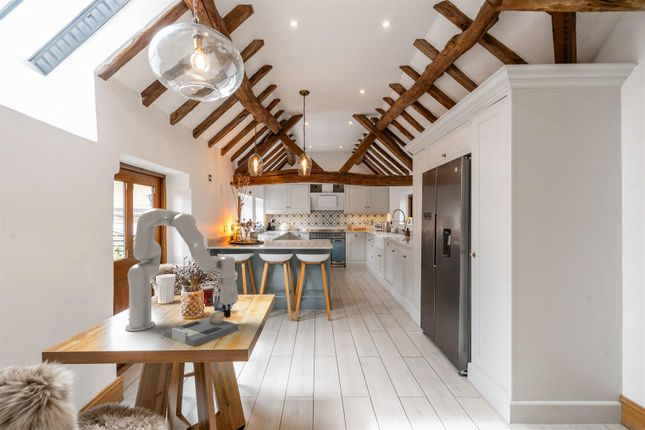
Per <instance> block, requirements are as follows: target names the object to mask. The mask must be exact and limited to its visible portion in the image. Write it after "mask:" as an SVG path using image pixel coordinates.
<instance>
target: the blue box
mask: <svg viewBox="0 0 645 430" xmlns="http://www.w3.org/2000/svg"><path fill="white" fill-rule="evenodd" d="M213 311H223V313H224V309H223V308H219V307H218V303H217V293H216V294H213Z"/></svg>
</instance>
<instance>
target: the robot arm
mask: <svg viewBox="0 0 645 430" xmlns="http://www.w3.org/2000/svg"><path fill="white" fill-rule="evenodd" d="M157 226H167V227H170V228H175V229H176V231H177V233H178V234H179V235H180V237H181V238H182V239H183V241H184V243H186V245H187V247H188V250H189V253H190V254H191V258H192V259H193V260H194V262H195V263H196V265H197V266H198V268H199V269H200V270H201V271H203V273H206V274H211V273H214V272H215V271H217V270H218V271H219V279H218V281H217V282H218V284H217V285H218V287H217V292H216V294H217V303H218V307H219V308H223V309H224V312H223V318H225V319H229V318H231V316H232V315H231V311H232V308H233V306H234V305H235V304H236V303H237V302H238V301H239V300H238V299H239V295H238V294H239V293H238V286H237V282H236V281H235V280H236V276H235V275H236V274H235V273H236V269H235V268H236V266H235V265H236V263H235V261H236V259H235V257H234V256H232V255H231V256H229V255H228V256H218V255H212V256H211V254H210V252H208V251H209V250H207V249H206V246H205V238H204V236H203V234H202V233H201V231H200V230H199V229H198V227H197V226H196V219H195V217H194V216H193V215H192V214H189V213H184V212H179V211H175V210H171V209H167V208H166V209H165V208H151V209H148V210H146V211H144V212H142V213H141V214H140V216H138V219H137V222H136V231H135V237H134V244H133V250H132V251H133V257H134V259H135V260H138V261H140V262H139V263H135V264H134V265H132V266H130V268H129V269H128V272H127V283H128V290H129V291H128V292H129V296H128V297H129V301H128V304H129V313H128V315H129V316H128V321H129V322H128V324H127V325H126V326H125V330H126V331H127V332H140V331H146V330H149V329H151V328H153V327H155V325H156V322H155V321H153V320H152V300H153V299H152V284H151V280H152V279H153V278H156V276H158V274H159V270H160V264H161V263H160V262H161V257H162V248H161V244H160V243H158V242H157V240H155V237H156V227H157Z"/></svg>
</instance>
